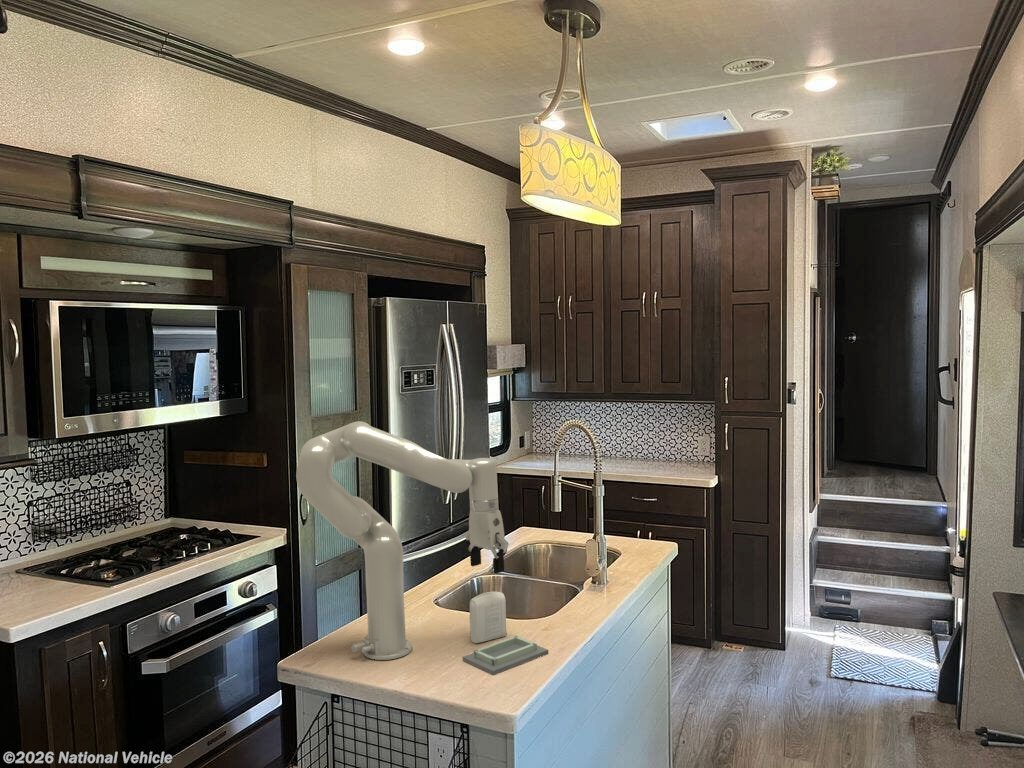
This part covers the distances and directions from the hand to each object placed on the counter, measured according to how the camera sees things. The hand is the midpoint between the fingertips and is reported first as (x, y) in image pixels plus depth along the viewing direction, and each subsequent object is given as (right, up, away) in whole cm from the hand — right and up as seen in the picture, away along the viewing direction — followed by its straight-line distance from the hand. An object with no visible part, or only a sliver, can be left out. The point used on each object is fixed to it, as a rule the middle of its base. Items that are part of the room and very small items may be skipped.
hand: (487, 568), depth 208 cm
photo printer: (0, -19, +1) cm, 19 cm away
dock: (+5, -19, -12) cm, 23 cm away
